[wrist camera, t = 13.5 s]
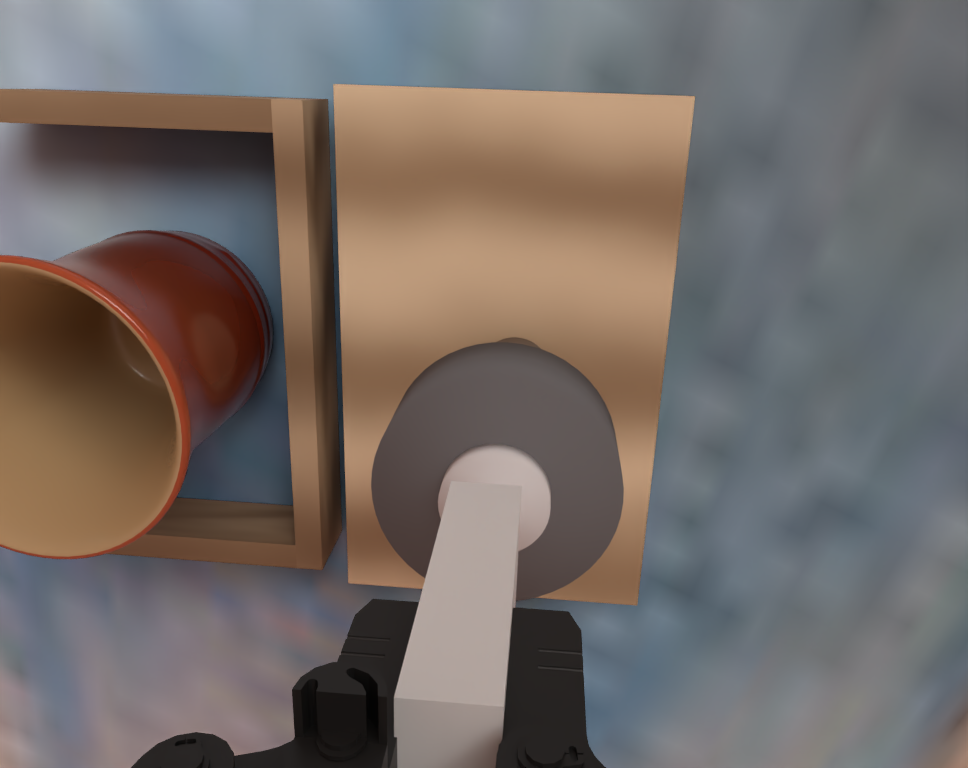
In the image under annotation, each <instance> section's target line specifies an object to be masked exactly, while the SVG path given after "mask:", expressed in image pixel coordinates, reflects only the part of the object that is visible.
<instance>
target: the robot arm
mask: <svg viewBox="0 0 968 768" xmlns="http://www.w3.org/2000/svg"><path fill="white" fill-rule="evenodd" d="M521 492H522V486H517V485H502V484H486V483H471V482H456V481H451V484H450V488H449V492H448V495H447V499H446V503H445V507H444V510H443V514H442V518H441V522H440V526H439V529H438V533H437V537H436V541H435V544H434V548H433V552H432V556H431V559H430V563H429V567H428V571H427V574H426V578H425V582H424V586H423V590H422V593H421V597H420V601H419V602H408V601H394V600H381V599H372V600H371V601H370V602H369V603H368V604H367V605H366V606H365V607H364V608H363V609H361V610H360V611H359V612H358V613H357V614H356V615H355V617H354V620H353V622H352V625H351V627H350V630H349V633H348V637H347V639H346V640H345V643H344V646H343V648H342V651H341V655H340V656H339V659H338V661H337V662H332V663H329V664H326V665H323V666H319V667H316V668H314V669H313V670H311V671H310V672H308V673H307V674H305V675H304V676H302V677H301V678H300V679H299V681H298V682H297V683H296V685H295V686H294V687H293V689H292V696H293V713H294V729H295V738H294V740H293V741H291V742H289V743H286V744H284V745H282V746H280V747H277V748H273V749H269V750H266V751H261V752H255V753H249V754H244V755H238V756H234V753H233V751H232V750H231V748H230V746H229V745H228V743H227V742H226V741H224V740H223V739H221V738H219V737H217V736H215V735H213V734H205V733H197V732H195V733H189V734H183V735H177V736H175V737H172V738H170V739H168V740H165V741H163V742H161V743H158V744H157V745H156V746H154V747H153V748H152V749H151V750H149V751H148V752H147V753H145V754H144V755H143V756H142V757H141V758H140V759H139V760H138V761H137V762H136V763H135V764H134V765H133V766H132V767H131V768H606V767H604V766H603V765H602V764H601V763H600V762H599V760H598V759H597V758H596V757H595V756H594V754H593V752H592V750H591V749H590V747H589V744H588V740H587V735H586V716H585V696H584V676H583V657H582V637H581V630H580V628H579V627H578V625H577V624H576V622H575V621H574V619H573V618H572V616H571V615H570V613H569V612H566V611H553V610H539V609H526V608H515V603H516V586H517V568H518V549H519V530H520V511H521Z"/></svg>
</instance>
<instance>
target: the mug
mask: <svg viewBox="0 0 968 768" xmlns="http://www.w3.org/2000/svg"><path fill="white" fill-rule="evenodd" d="M272 343H273V322H272V316H271V311H270V307H269V304H268V301H267V298H266V296H265V294H264V292H263V289H262V288H261V286H260V284H259V282H258V281H257V279H256V278H255V276H254V275H253V273H252V272H251V271H250V270H249V269H248V267H247V266H246V265H245V264H244V263H243V262H242V261H241V260H240V259H239V258H238V257H237V256H235V255H234V254H233V253H232V252H230V251H229V250H227V249H226V248H225V247H223V246H221V245H220V244H218V243H216V242H214V241H212V240H210V239H208V238H205V237H202V236H200V235H196V234H193V233H188V232H182V231H154V230H140V231H131V232H126V233H122V234H118V235H115V236H113V237H110V238H107V239H105V240H104V241H102V242H99V243H96V244H93V245H91V246H88V247H85V248H83V249H80V250H77V251H75V252H72V253H70V254H68V255H65V256H63V257H61V258H58V259H56V260H54V261H47V260H40V259H34V258H28V257H22V256H11V255H0V546H1V547H4V548H6V549H9V550H12V551H15V552H19V553H23V554H27V555H31V556H37V557H42V558H52V559H80V558H89V557H94V556H99V555H103V554H106V553H110V552H113V551H115V550H118V549H120V548H123V547H125V546H127V545H129V544H130V543H132V542H134V541H136V540H138V539H139V538H140V537H142V536H143V535H145V534H146V533H147V532H149V531H150V530H151V529H152V528H153V527H154V526H155V525H156V524H158V522H159V521H160V520H161V519H162V518H163V517H164V516H165V514H166V513H167V512H168V510H169V509H170V507H171V506H172V504H173V503H174V501H175V499H176V497H177V495H178V494H179V492H180V490H181V487H182V484H183V482H184V479H185V476H186V473H187V469H188V465H189V462H190V458H191V454H192V451H193V449H194V448H196V447H197V446H198V445H199V444H200V443H202V442H203V441H204V440H205V439H206V438H208V437H209V436H210V435H211V434H212V433H213V432H214V431H215V430H217V429H218V428H219V427H220V426H221V425H222V424H223V423H224V422H225V421H226V420H227V419H228V418H230V417H231V416H232V415H234V414H235V413H236V412H237V411H238V410H239V409H240V408H242V407H243V405H244V404H245V403H246V402H247V401H248V399H249V398H250V397H251V395H252V394H253V392H254V390H255V388H256V386H257V385H258V383H259V381H260V380H261V378H262V376H263V374H264V371H265V368H266V366H267V362H268V360H269V357H270V353H271V349H272Z"/></svg>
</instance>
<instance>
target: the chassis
mask: <svg viewBox="0 0 968 768" xmlns="http://www.w3.org/2000/svg"><path fill="white" fill-rule="evenodd" d="M333 88H334V121H335V154H336V188H337V221H338V254H339V287H340V320H341V353H342V387H343V420H344V453H345V486H346V519H347V553H348V583H352V584H365V585H378V586H391V587H404V588H417V589H423V586H424V582H425V578H424V577H422V576H421V575H419V574H418V573H417V572H416V571H415V570H413V569H412V568H411V567H410V566H409V565H407V564H406V562H405V561H404V560H403V559H402V558H401V557H400V556H399V555H398V554H397V553H396V551H395V550H394V549H393V547H392V546H391V544H390V543H389V542H388V540H387V538H386V536H385V535H384V533H383V531H382V529H381V527H380V524H379V522H378V519H377V516H376V513H375V509H374V505H373V501H372V490H371V477H372V468H373V463H374V458H375V454H376V452H377V449H378V446H379V443H380V441H381V439H382V437H383V435H384V433H385V431H386V429H387V427H388V425H389V423H390V421H391V419H392V417H393V415H394V413H395V411H396V409H397V407H398V405H399V403H400V402H401V400H402V398H403V396H404V394H405V392H406V391H407V389H408V388H409V387H410V385H411V384H412V383H413V381H414V380H415V379H416V378H417V377H418V376H419V375H420V374H421V373H422V372H423V371H424V370H425V369H426V368H428V367H429V366H430V365H431V364H433V363H434V362H435V361H437V360H439V359H440V358H442V357H444V356H446V355H447V354H449V353H452V352H454V351H457V350H459V349H462V348H465V347H469V346H473V345H476V344H484V343H491V342H509V343H518V344H524V345H528V346H532V347H536V348H539V349H542V350H545V351H547V352H550V353H552V354H554V355H556V356H558V357H560V358H562V359H563V360H565V361H567V362H568V363H569V364H571V365H572V366H574V367H575V368H576V369H578V370H579V371H580V372H581V373H582V374H583V375H584V376H585V377H586V378H587V379H588V380H589V381H590V382H591V383H592V384H593V386H594V387H595V388H596V389H597V391H598V392H599V394H600V395H601V397H602V399H603V400H604V402H605V404H606V406H607V408H608V411H609V413H610V415H611V418H612V422H613V425H614V429H615V434H616V440H617V446H618V452H619V458H620V464H621V470H622V477H623V486H624V497H623V507H622V513H621V518H620V521H619V524H618V527H617V530H616V532H615V534H614V536H613V538H612V540H611V542H610V544H609V546H608V547H607V549H606V550H605V552H604V553H603V555H602V556H601V557H600V558H599V559H598V560H597V562H596V563H595V564H594V565H593V566H592V567H591V568H590V569H589V570H588V571H586V572H585V573H584V574H583V575H581V576H580V577H579V578H577V579H576V580H574V581H573V582H571V583H570V584H568V585H566V586H564V587H562V588H560V589H558V590H556V591H554V592H551V593H548V594H545V595H542V596H539V597H535V598H547V599H560V600H573V601H586V602H599V603H612V604H625V605H637V602H638V594H639V585H640V576H641V567H642V558H643V550H644V541H645V532H646V523H647V515H648V506H649V497H650V488H651V479H652V471H653V462H654V453H655V444H656V436H657V427H658V418H659V409H660V400H661V392H662V383H663V374H664V365H665V356H666V348H667V339H668V330H669V321H670V313H671V304H672V295H673V286H674V277H675V269H676V260H677V251H678V242H679V234H680V225H681V216H682V207H683V198H684V190H685V181H686V172H687V163H688V154H689V146H690V137H691V128H692V119H693V111H694V102H695V96H673V95H643V94H613V93H583V92H554V91H524V90H494V89H464V88H435V87H405V86H375V85H345V84H333ZM0 122H8V123H34V124H60V125H87V126H113V127H139V128H166V129H192V130H218V131H244V132H271V133H273V146H274V164H275V182H276V200H277V218H278V236H279V254H280V273H281V291H282V309H283V327H284V345H285V363H286V381H287V399H288V417H289V436H290V454H291V472H292V490H293V506H290V505H276V504H262V503H248V502H234V501H219V500H205V499H191V498H177V497H176V499H175V501H174V503H173V504H172V506H171V507H170V509H169V510H168V512H167V513H166V514H165V516H164V517H163V518H162V519H161V520H160V521H159V522H158V524H156V525H155V526H154V527H153V528H152V529H151V530H150V531H149V532H147V533H146V534H145V535H143V536H142V537H140V538H139V539H138V540H136V541H134V542H132V543H130V544H129V545H127V546H125V547H123V548H120V549H118V550H115V551H113V552H110V553H106V554H117V555H131V556H144V557H157V558H170V559H183V560H196V561H210V562H223V563H236V564H249V565H262V566H275V567H288V568H302V569H315V570H323V568H324V566H325V564H326V562H327V560H328V558H329V556H330V554H331V552H332V550H333V547H334V545H335V543H336V541H337V539H338V537H339V535H340V533H341V531H342V517H341V486H340V455H339V425H338V394H337V363H336V332H335V301H334V271H333V240H332V209H331V178H330V147H329V117H328V99H305V98H277V97H248V96H219V95H191V94H162V93H134V92H105V91H76V90H48V89H0Z"/></svg>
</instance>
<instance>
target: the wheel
mask: <svg viewBox="0 0 968 768" xmlns="http://www.w3.org/2000/svg"><path fill="white" fill-rule="evenodd" d="M451 481H456V482H471V483H486V484H502V485H517V486H522V492H521V511H520V530H519V549H518V568H517V586H516V601H518V600H525V599H530V598H535V597H539V596H542V595H545V594H548V593H551V592H554V591H556V590H558V589H560V588H562V587H564V586H566V585H568V584H570V583H571V582H573V581H574V580H576V579H577V578H579V577H580V576H581V575H583V574H584V573H585V572H586V571H588V570H589V569H590V568H591V567H592V566H593V565H594V564H595V563H596V562H597V560H598V559H599V558H600V557H601V556H602V555H603V553H604V552H605V550H606V549H607V547H608V546H609V544H610V542H611V540H612V538H613V536H614V534H615V532H616V530H617V527H618V524H619V521H620V518H621V513H622V507H623V497H624V486H623V477H622V470H621V464H620V458H619V452H618V446H617V440H616V434H615V429H614V425H613V422H612V418H611V415H610V413H609V411H608V408H607V406H606V404H605V402H604V400H603V399H602V397H601V395H600V394H599V392H598V391H597V389H596V388H595V387H594V386H593V384H592V383H591V382H590V381H589V380H588V379H587V378H586V377H585V376H584V375H583V374H582V373H581V372H580V371H579V370H578V369H576V368H575V367H574V366H572V365H571V364H569V363H568V362H567V361H565V360H563V359H562V358H560V357H558V356H556V355H554V354H552V353H550V352H547V351H545V350H542V349H539V348H536V347H532V346H528V345H524V344H518V343H509V342H491V343H484V344H476V345H473V346H469V347H465V348H462V349H459V350H457V351H454V352H452V353H449V354H447V355H446V356H444V357H442V358H440V359H439V360H437V361H435V362H434V363H433V364H431V365H430V366H429V367H428V368H426V369H425V370H424V371H423V372H422V373H421V374H420V375H419V376H418V377H417V378H416V379H415V380H414V381H413V383H412V384H411V385H410V387H409V388H408V389H407V391H406V392H405V394H404V396H403V398H402V400H401V402H400V403H399V405H398V407H397V409H396V411H395V413H394V415H393V417H392V419H391V421H390V423H389V425H388V427H387V429H386V431H385V433H384V435H383V437H382V439H381V441H380V443H379V446H378V449H377V452H376V454H375V458H374V463H373V468H372V477H371V490H372V501H373V505H374V509H375V513H376V516H377V519H378V522H379V524H380V527H381V529H382V531H383V533H384V535H385V536H386V538H387V540H388V542H389V543H390V544H391V546H392V547H393V549H394V550H395V551H396V553H397V554H398V555H399V556H400V557H401V558H402V559H403V560H404V561H405V562H406V564H407V565H409V566H410V567H411V568H412V569H413V570H415V571H416V572H417V573H418V574H419V575H421V576H422V577H424V578H426V574H427V571H428V567H429V563H430V559H431V556H432V552H433V548H434V544H435V541H436V537H437V533H438V529H439V526H440V522H441V518H442V514H443V510H444V507H445V503H446V499H447V495H448V492H449V488H450V484H451Z"/></svg>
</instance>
